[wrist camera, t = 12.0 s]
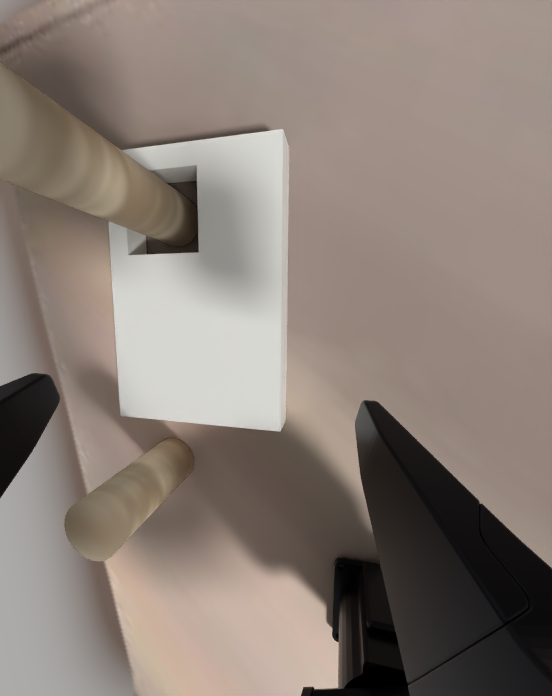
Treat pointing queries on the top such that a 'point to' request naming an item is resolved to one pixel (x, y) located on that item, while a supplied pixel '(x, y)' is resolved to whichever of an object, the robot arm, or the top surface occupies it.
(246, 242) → the hole plate
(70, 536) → the short pin
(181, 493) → the top surface
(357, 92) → the top surface
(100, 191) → the long pin
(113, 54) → the top surface
